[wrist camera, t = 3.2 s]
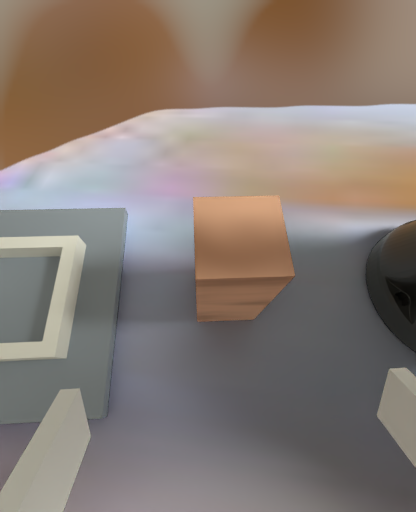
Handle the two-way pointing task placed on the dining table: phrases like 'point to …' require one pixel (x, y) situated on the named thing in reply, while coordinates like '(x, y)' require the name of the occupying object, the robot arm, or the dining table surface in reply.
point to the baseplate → (58, 307)
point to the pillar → (239, 256)
